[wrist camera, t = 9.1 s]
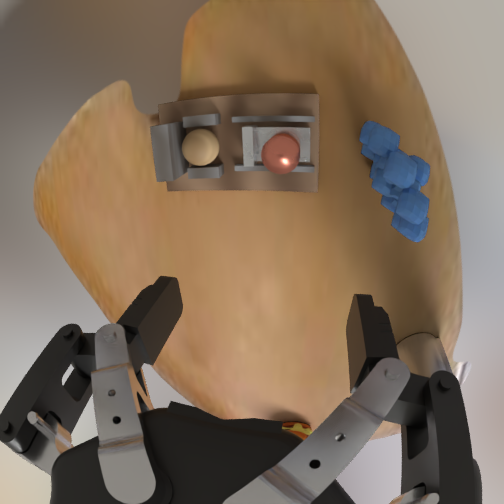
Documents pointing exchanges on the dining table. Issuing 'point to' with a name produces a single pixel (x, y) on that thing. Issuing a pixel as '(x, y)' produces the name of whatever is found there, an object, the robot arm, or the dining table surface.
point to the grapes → (397, 179)
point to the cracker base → (233, 141)
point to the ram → (276, 147)
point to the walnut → (200, 147)
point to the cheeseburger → (298, 429)
